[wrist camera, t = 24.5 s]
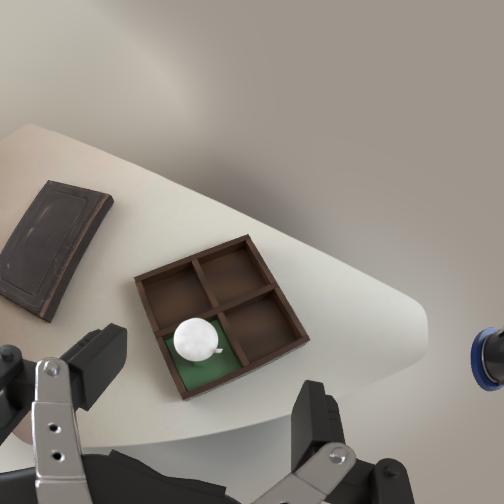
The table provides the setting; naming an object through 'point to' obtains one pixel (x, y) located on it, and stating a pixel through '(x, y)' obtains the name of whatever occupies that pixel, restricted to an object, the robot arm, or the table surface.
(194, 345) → the milkshake
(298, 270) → the table surface
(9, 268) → the hardcover book
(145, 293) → the grid
